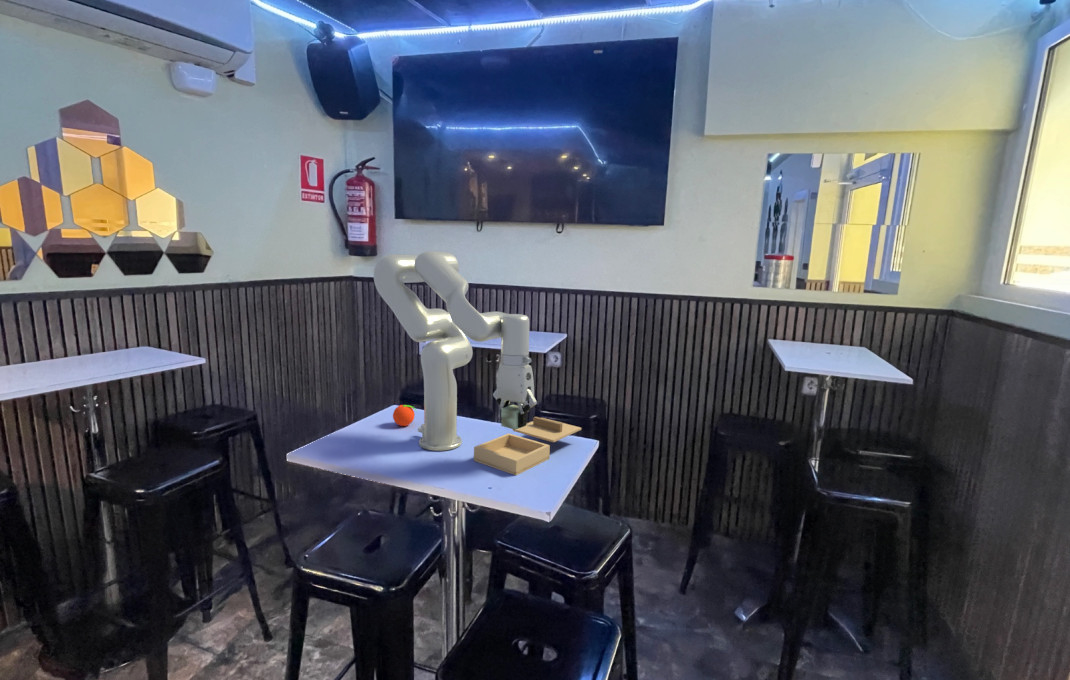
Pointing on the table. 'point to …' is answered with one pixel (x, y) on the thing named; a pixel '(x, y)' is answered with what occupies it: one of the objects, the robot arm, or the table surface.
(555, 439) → the mailer lid
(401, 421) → the clementine
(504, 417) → the green block
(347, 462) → the table surface
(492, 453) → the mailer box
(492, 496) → the table surface
